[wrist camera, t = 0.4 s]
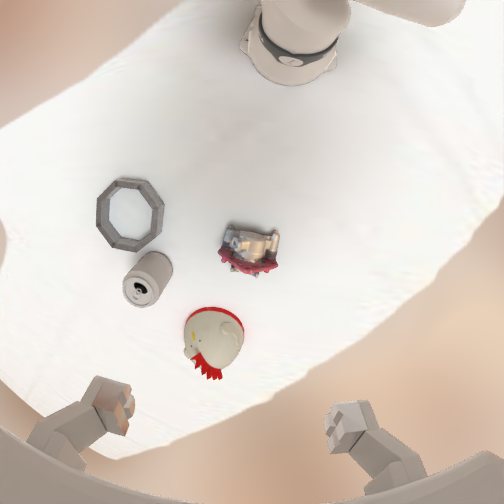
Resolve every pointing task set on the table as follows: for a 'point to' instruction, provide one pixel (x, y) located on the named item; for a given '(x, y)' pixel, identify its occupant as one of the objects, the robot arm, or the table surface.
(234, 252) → the brake caliper
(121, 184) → the steel ring
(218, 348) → the kitchen timer
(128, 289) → the can
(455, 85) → the table surface
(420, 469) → the robot arm
